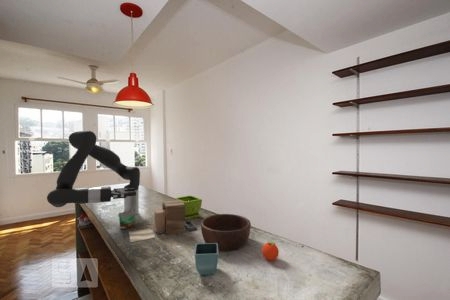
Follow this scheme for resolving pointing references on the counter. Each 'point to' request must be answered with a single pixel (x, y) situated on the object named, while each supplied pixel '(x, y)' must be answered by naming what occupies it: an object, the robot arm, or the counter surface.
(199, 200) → the flower pot
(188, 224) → the pit tray
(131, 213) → the food container
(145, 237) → the pad
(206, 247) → the flower pot
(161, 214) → the tall wood-grain block
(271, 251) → the clementine
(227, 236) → the wooden bowl
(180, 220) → the tunnel
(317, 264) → the counter surface
